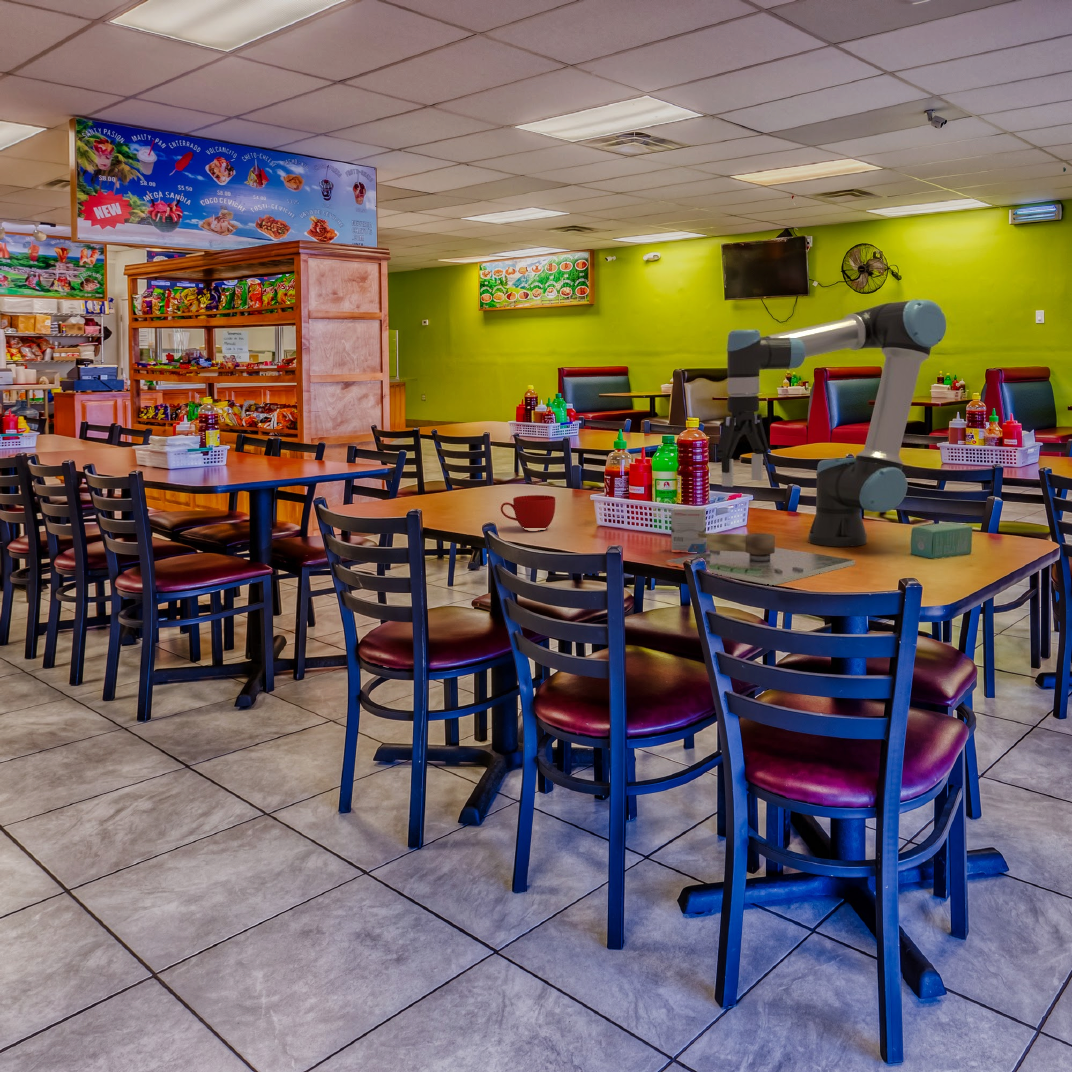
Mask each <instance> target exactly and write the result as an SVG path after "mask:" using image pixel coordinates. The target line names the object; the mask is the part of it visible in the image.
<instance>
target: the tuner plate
mask: <svg viewBox="0 0 1072 1072" xmlns="http://www.w3.org/2000/svg"><path fill="white" fill-rule="evenodd" d="M687 558H703V559H704V560H705V562H706V568H707V570H709V571H710V572H712V573H716V574H718V575H717V576H720V575H722V576H721V577H725V578H730V577H731V578H732V579H737V580H743V581H747V582H751V583H752V582H753V583H756V584H763V585H767V584H769V585H768V586H772V585H774V586H777V585H781V584H785V583H789V582H792V581H797V580H800V579H804V578H808V577H812V575H813V576H816V575H817V576H818V575H820V574H824V573H828V572H832V571H835V570H840V569H842V568H848V567H851V566H855V564H856V563H855V561H856V560H855V559H851V558H845V557H839V556H832V555H825V554H819V553H818V554H817V553H814V552H807V551H801V550H800V551H799V550H793V549H787V548H780V547H775V553H772V554H764V555H759V554H749V553H746V552H736V551H713V550H709V551H705V552H704V553H699V554H697V553H695V554H692V555H687V556H682V557H675V558H672V559H667V560H666V563H667V562H671V563H676V564H680V565H683V561H684V560H686V559H687ZM819 573H820V574H819Z"/></svg>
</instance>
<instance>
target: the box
mask: <svg viewBox="0 0 1072 1072" xmlns="http://www.w3.org/2000/svg"><path fill="white" fill-rule="evenodd" d="M910 534H911V536H910V555H913V556H916V557H917V556H918V557H922V558H927V559H930V558H932V559H931V560H935V559H934V558H937V559H942V557H945V558H950V557H949V556H952V557H959V556H964V555H970V554H972V546H973V545H972V544H973V543H972V541H973V526H972V525H969V524H968V525H967V524H964V523H963V524H961V523H958V522H953V521H948V522H941V523H940V522H939V523H935V524H934V523H933V524H924V525H919V526H917V525H916V526H913V527H912V528H911V533H910ZM958 555H959V556H958Z"/></svg>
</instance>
